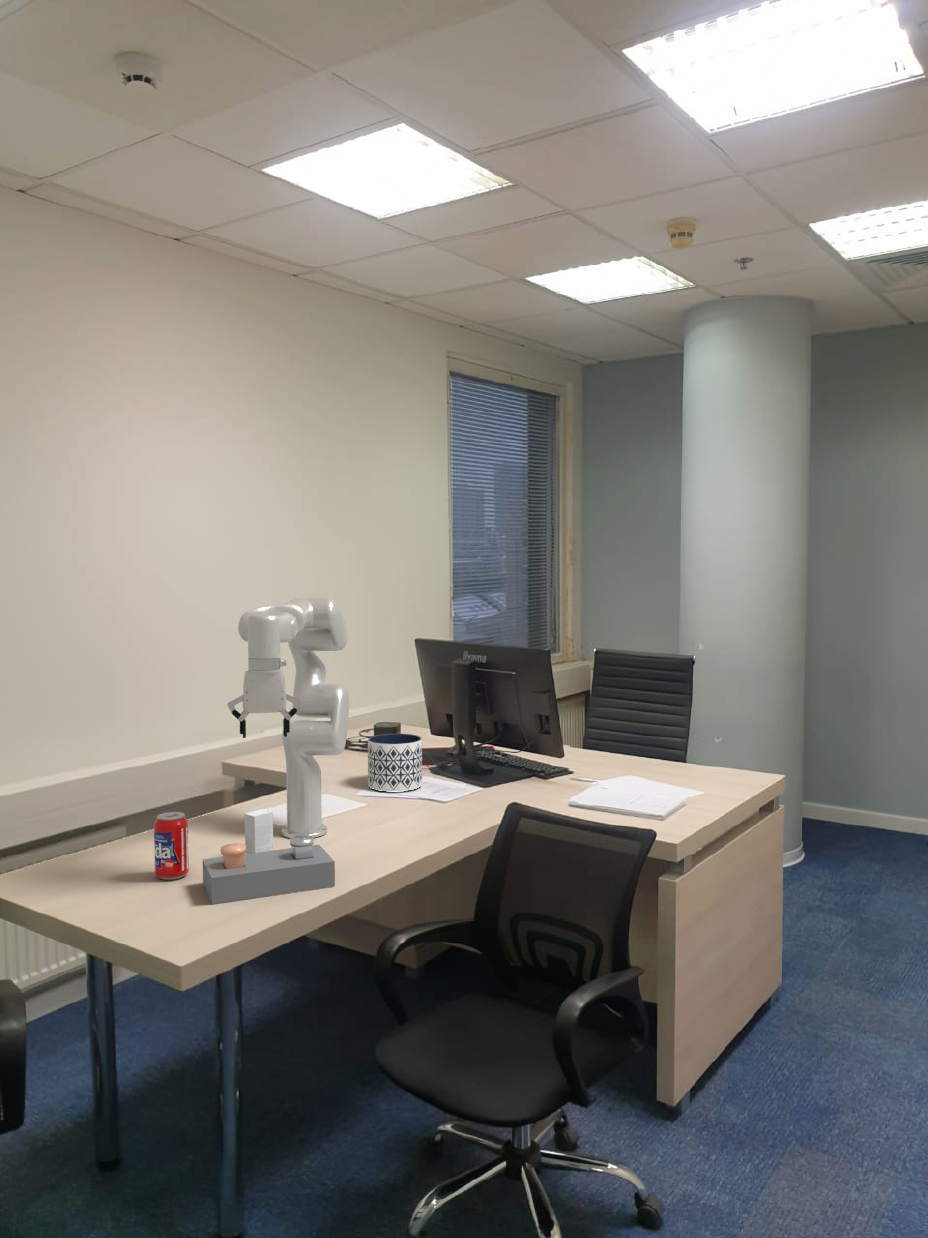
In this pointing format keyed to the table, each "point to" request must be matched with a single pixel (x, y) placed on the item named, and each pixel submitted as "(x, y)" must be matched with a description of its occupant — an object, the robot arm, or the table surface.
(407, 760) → the planter
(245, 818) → the skincare box
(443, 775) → the table surface
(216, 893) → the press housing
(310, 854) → the grey plunger
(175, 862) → the soda can
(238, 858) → the peach dome knob
